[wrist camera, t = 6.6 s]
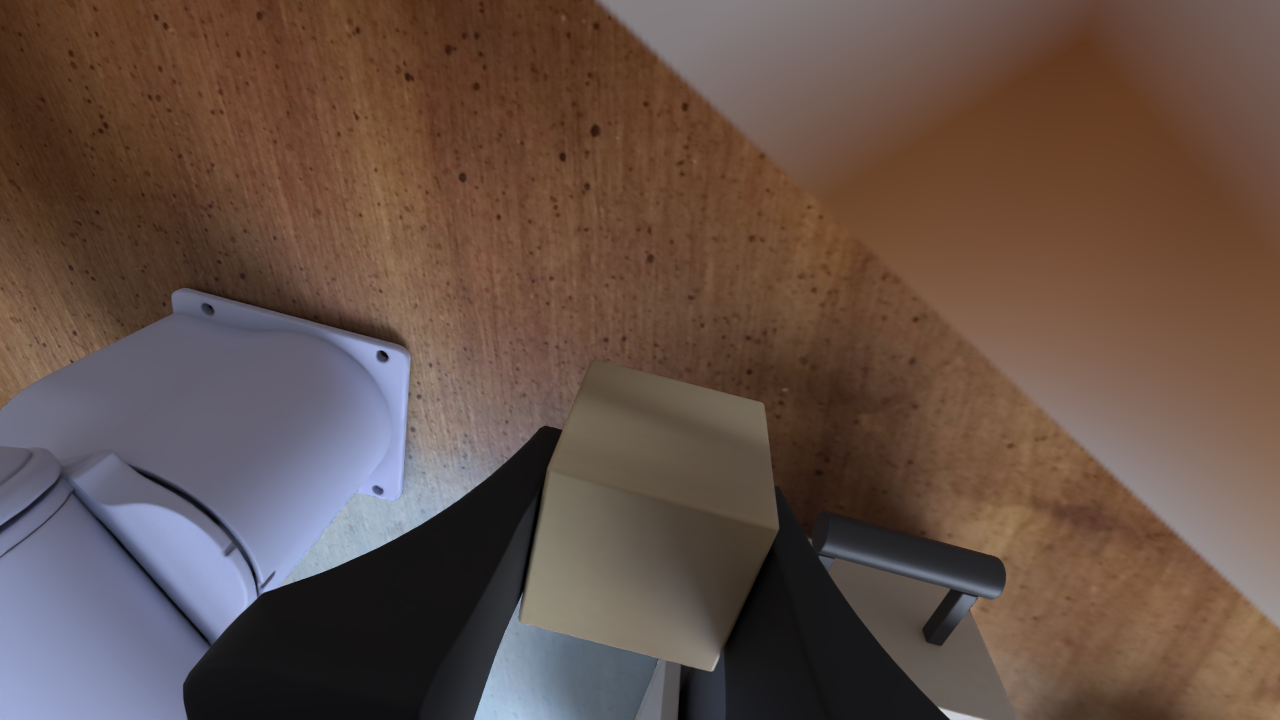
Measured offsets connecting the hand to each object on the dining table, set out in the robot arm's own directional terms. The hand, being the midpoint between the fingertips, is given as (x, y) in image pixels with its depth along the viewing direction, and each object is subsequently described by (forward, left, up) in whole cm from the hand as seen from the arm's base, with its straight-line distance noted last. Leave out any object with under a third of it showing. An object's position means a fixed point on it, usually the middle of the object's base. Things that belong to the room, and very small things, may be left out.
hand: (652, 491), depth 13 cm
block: (0, 0, -1) cm, 1 cm away
